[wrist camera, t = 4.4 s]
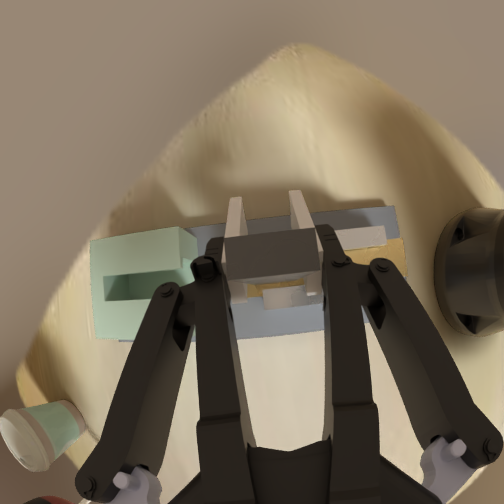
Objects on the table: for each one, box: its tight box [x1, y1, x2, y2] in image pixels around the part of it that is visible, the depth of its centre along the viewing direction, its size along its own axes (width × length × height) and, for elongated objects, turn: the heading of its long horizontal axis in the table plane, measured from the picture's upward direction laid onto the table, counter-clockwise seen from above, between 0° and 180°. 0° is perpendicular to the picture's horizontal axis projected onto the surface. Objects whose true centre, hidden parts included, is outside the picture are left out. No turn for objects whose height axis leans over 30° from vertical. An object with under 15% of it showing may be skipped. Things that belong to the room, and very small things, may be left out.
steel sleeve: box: [262, 225, 387, 310], centre depth 22 cm, size 10×5×5 cm, turn 96°
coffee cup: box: [0, 400, 86, 472], centre depth 20 cm, size 9×9×12 cm
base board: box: [119, 206, 406, 342], centre depth 26 cm, size 30×11×2 cm, turn 96°
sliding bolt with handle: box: [224, 227, 408, 298], centre depth 16 cm, size 14×3×15 cm, turn 96°
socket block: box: [90, 226, 198, 340], centre depth 23 cm, size 9×9×5 cm
